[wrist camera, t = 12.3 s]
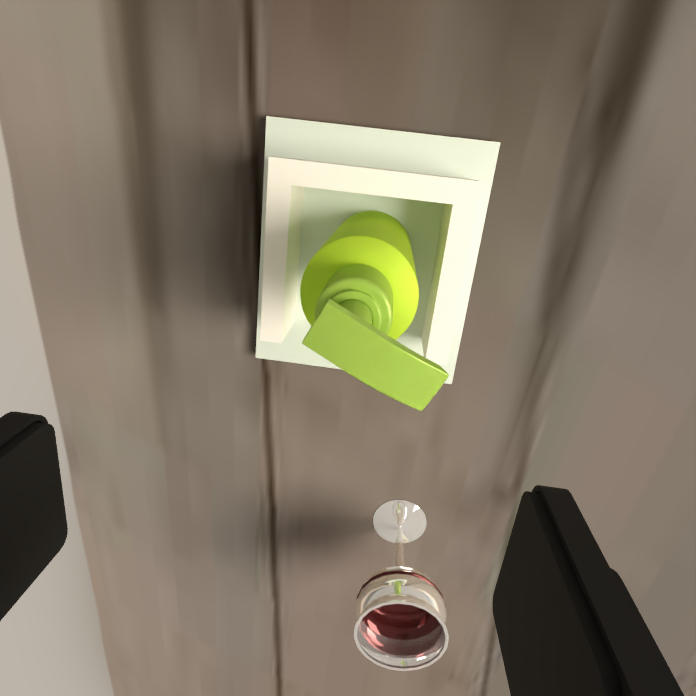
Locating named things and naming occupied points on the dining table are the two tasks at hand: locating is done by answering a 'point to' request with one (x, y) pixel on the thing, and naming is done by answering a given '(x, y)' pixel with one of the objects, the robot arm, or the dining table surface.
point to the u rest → (370, 195)
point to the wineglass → (400, 600)
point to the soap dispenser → (368, 308)
